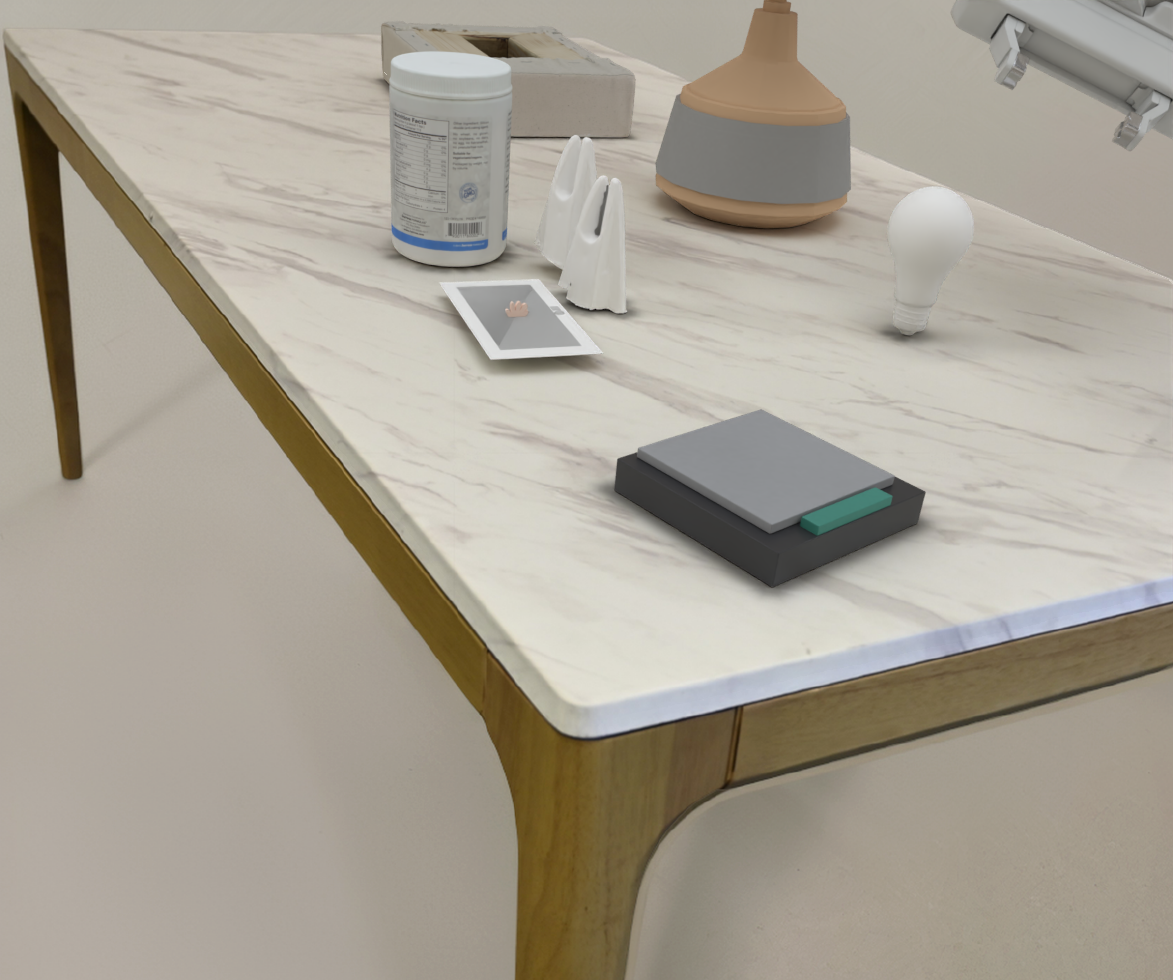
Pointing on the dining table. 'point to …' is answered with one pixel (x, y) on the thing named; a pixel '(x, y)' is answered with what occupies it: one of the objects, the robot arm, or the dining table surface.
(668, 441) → the scale
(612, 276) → the shaker set
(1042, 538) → the dining table surface
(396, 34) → the box
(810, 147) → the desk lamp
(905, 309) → the lightbulb
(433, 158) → the supplement tub
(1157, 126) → the robot arm
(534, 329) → the touchpad
